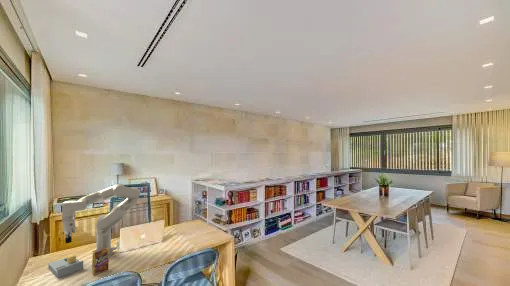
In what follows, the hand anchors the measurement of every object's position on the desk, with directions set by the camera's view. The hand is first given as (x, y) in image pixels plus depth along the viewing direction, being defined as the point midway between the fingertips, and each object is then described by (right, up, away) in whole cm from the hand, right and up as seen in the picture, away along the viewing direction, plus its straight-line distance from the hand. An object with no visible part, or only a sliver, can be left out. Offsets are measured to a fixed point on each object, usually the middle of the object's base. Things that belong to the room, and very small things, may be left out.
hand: (68, 242), depth 166 cm
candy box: (+31, -15, -11) cm, 37 cm away
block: (+6, -12, -4) cm, 14 cm away
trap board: (+4, -15, -7) cm, 17 cm away
